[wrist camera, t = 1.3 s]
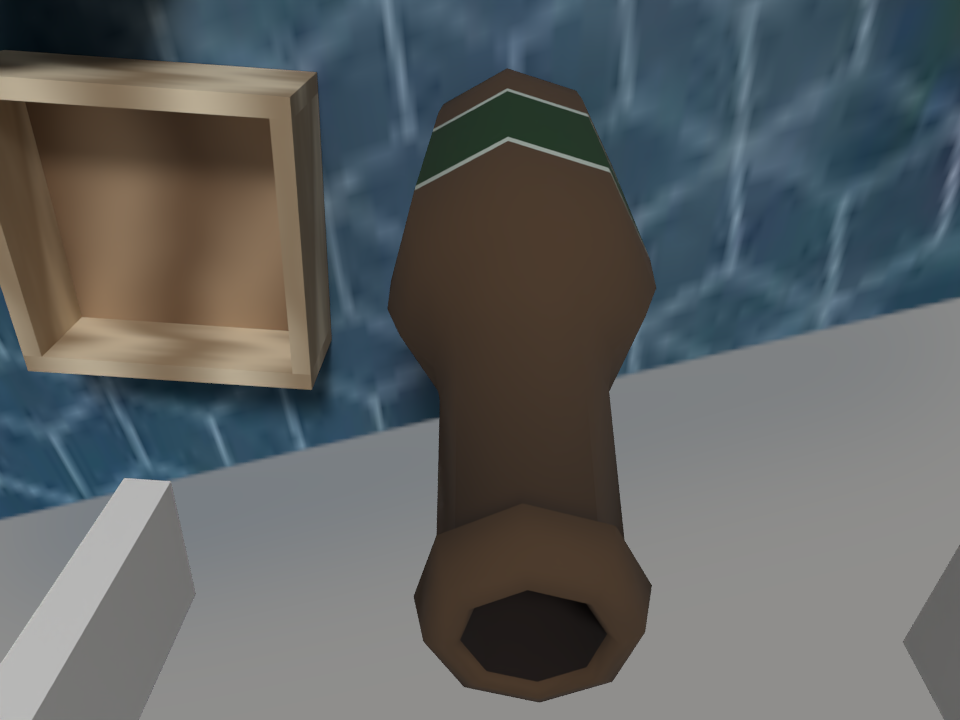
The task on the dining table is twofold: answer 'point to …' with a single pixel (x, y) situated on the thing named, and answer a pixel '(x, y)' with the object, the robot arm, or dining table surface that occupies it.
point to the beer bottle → (524, 388)
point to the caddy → (163, 219)
